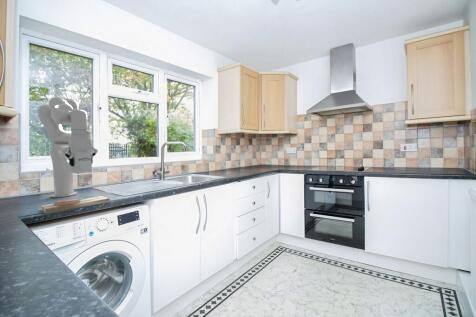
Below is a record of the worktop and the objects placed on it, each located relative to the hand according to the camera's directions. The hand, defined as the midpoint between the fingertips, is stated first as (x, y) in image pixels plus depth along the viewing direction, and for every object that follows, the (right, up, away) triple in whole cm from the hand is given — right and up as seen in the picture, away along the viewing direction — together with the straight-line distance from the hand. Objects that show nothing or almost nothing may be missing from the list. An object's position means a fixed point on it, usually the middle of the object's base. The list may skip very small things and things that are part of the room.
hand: (81, 165), depth 127 cm
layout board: (+6, -20, -11) cm, 23 cm away
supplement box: (0, -4, 0) cm, 4 cm away
